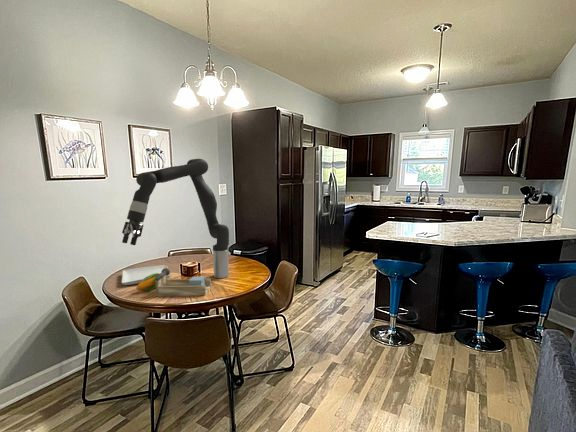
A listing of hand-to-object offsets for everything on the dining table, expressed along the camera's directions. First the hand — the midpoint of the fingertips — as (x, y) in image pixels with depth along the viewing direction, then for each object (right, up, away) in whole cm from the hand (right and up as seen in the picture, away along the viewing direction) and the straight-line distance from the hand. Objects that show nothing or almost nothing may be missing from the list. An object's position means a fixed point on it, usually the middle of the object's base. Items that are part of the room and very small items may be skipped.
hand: (128, 244), depth 148 cm
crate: (+27, -27, +21) cm, 43 cm away
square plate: (-13, -26, +47) cm, 55 cm away
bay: (+20, -28, +21) cm, 40 cm away
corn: (-1, -28, +27) cm, 39 cm away
